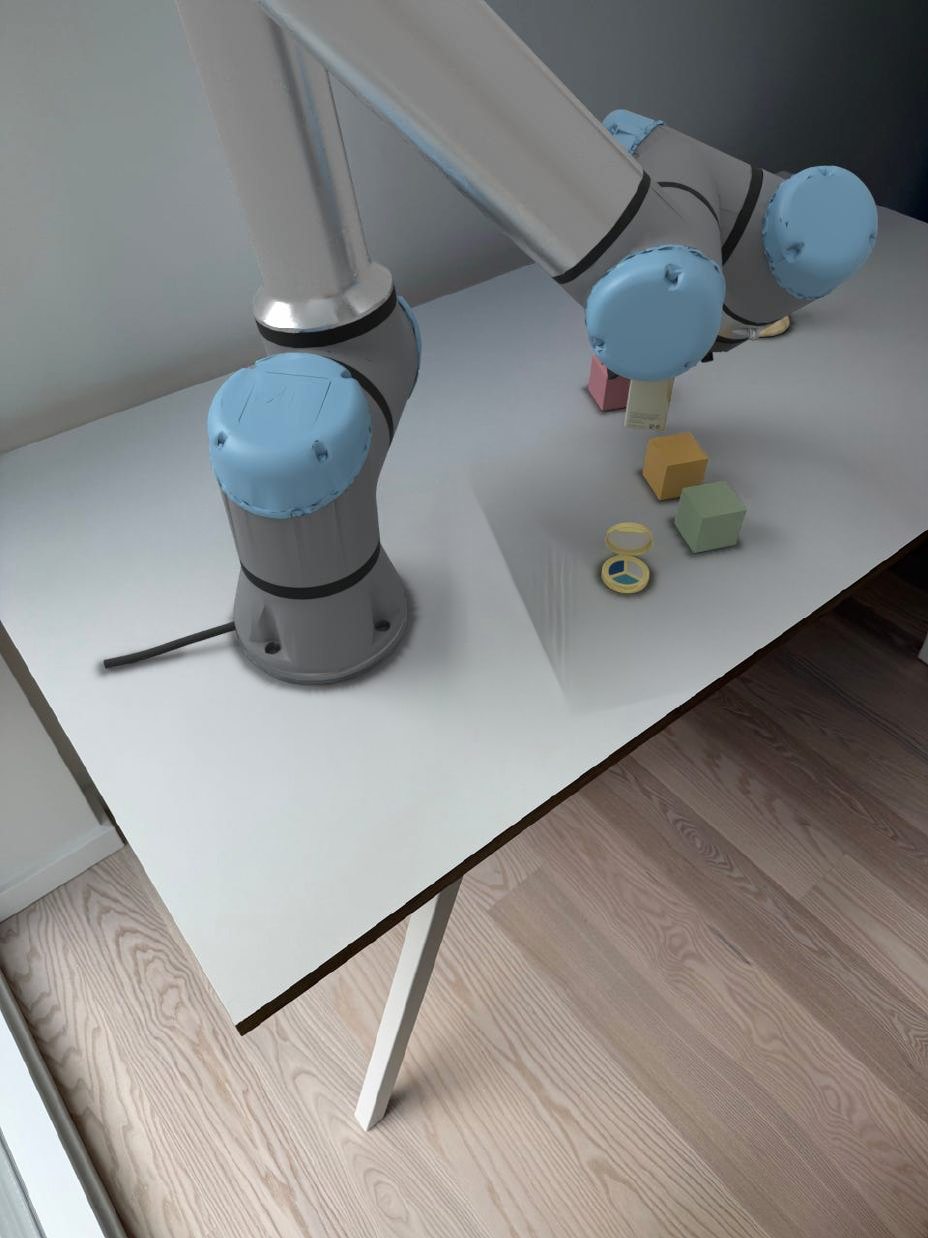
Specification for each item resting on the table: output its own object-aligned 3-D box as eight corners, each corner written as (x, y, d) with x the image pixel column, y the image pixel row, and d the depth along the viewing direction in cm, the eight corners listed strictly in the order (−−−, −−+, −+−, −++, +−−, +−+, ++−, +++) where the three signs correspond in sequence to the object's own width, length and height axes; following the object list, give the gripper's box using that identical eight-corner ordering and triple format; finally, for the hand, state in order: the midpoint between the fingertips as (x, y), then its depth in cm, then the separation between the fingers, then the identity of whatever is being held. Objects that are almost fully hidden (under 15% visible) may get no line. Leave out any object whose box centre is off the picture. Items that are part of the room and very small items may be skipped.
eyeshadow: (600, 590, 82) (606, 552, 79) (602, 553, 86) (608, 514, 82) (648, 595, 82) (657, 557, 78) (648, 557, 85) (656, 519, 82)
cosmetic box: (664, 433, 93) (686, 326, 84) (623, 429, 94) (639, 322, 84) (668, 398, 97) (688, 293, 88) (627, 394, 98) (644, 289, 89)
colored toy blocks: (693, 553, 86) (702, 518, 82) (587, 389, 104) (592, 355, 101) (735, 544, 87) (746, 509, 83) (623, 383, 105) (629, 349, 101)
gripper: (624, 353, 71) (558, 408, 94) (847, 329, 73) (728, 388, 96) (613, 258, 71) (549, 336, 94) (837, 236, 73) (720, 318, 96)
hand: (640, 363), depth 95 cm, fingers closed on cosmetic box, 6 cm apart
